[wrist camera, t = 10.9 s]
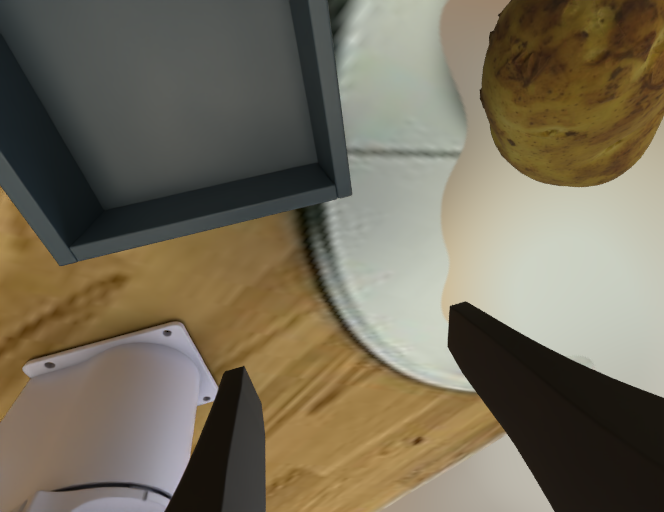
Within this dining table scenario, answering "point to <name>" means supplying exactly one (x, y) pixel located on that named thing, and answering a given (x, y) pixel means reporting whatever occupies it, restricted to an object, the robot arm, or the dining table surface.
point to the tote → (165, 117)
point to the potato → (575, 87)
